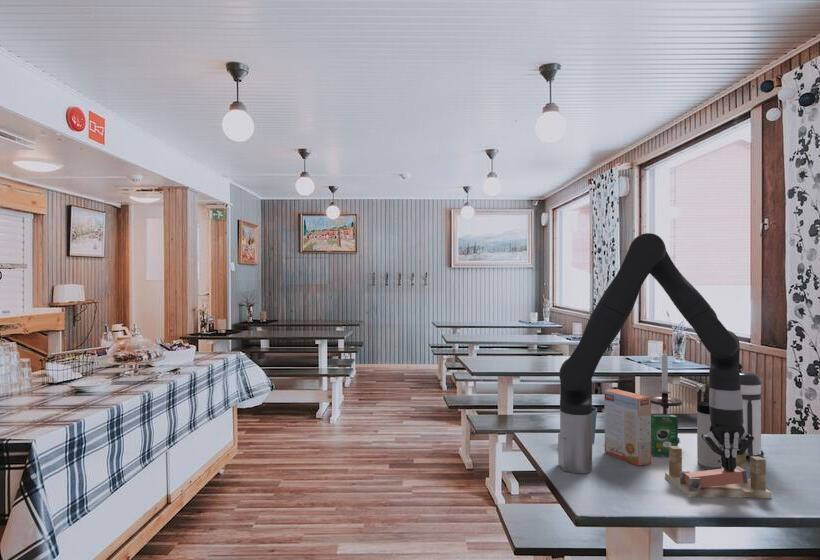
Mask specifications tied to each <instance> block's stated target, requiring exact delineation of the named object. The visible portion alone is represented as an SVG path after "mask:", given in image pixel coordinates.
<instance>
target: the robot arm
mask: <svg viewBox="0 0 820 560" xmlns="http://www.w3.org/2000/svg"><path fill="white" fill-rule="evenodd" d="M649 274H650V275H651V276H652V277H653V278H654V280H656V282H657V283H658V284H659V285H660V286H661V288H662V289H663V291H664V292H665V293H666V294H667V295H668V297H669V299H670V301H671V302H672V303H673V304H674V306H675V307H676V309H677V311H678V312H679V313H680V314H681V316H682V317H683V318H684V320H686V321H687V323H688V324H689V326H691V327H692V328H693V330H694V332H695V334H696V335H697V337H698V339H699V340H700V342H701V343H702V345H703V346H704V347H705V349H706V350H707V351H708V353H709V355H710V367H709V372H708V378H709V391H708V401H709V406H710V421H711V426H710V429H709V430H710V432H708V433H707V434H706V435H705V434H702V435H701V437H702V439H703V440H704V441H705V442H706V443H707V445H708V446H709V447H710V448H711V449H712V451H713V452H715V453H716V454H718V455H721V465H722V469H724V470H726V471H734V469H736V457H737V455H743V454H744V452H745V451H746V449H747V448H748V447H749V445H750V444H751V442H752V441H753V440H754V437H753V436H751V435H749V434H748V433H746V432H745V429H744V427H743V423H744V421H743V401H742V394H741V384H740V373H739V363H740V353H741V352H740V340H739V337H738V336H737V334H736V333H734V332H732V330H728V329H727V328H726V326H724V324H723V323H722V321H720V319H719V317H718V316H717V312H715V310H714V309H713V308H712V306H711V305H710V303H709V302H708V301H707V300H706V299H705V297H704V296H703V295H702V294H701V293H700V292H699V290H697V288H696V287H694V286H693V285H692V283H691V282H689V280H688V279H687V278H686V277H685V276H684V275H683V274H682V273H681V272H680V271H679V269H678V268H677V267H676V265H675V263H674V261H673V260H672V259H671V257H670V255H669V253H668V251H667V247H666V244H665V241H664V240H663V239H662V238H661V237H660V236H659V235H658V234H656V233H654V232H653V233H652V232H645V233H641V234H639V235H637V236H636V237H635V238H634V239H633V240H632V242H631V243H630V245H629V248H628V250H627V253H626V254H625V257H624V259H623V262H622V263H621V266H620V268H619V270H618V272H617V273H616V274H615V276H614V278H613V279H612V280H611V282H610V284H609V285H608V286H607V288H606V289H605V291H604V293H603V294H602V295H601V297H600V299H599V300H598V302H597V304H596V305H595V307H594V309H593V311H592V313H591V315H590V316H589V319H588V321H587V324H586V326H585V328H584V330H583V333H582V336H581V338H580V340H579V343H578V344H577V346H576V347H575V349H574V350H573V352H572V353H571V355H570V356H569V357H568V359H566V360H564V362H562V363H561V366H560V368H559V373H558V375H559V377H558V378H559V380H560V384H559V385H560V394H559V395H560V397H559V433H558V435H557V440H558V441H557V443H558V444H557V446H558V447H557V449H558V450H557V453H558V456H557V457H558V458H557V459H558V462H557V463H558V466H559V467H560V468H561V469H562V471H563V472H569V473H573V474H589V473H591V472H592V471H593V444H592V406H593V382H592V381H593V376H594V374H595V372H596V369H597V367H598V365H599V363H600V361H601V359H602V357H603V356H604V354H605V352H606V351H607V350H608V348H609V347H610V346H611V345H612V343H613V341H615V339H616V338H617V337H618V334H619V333H620V332H621V330H622V328H624V325H625V323H626V322H627V320H628V319H629V317H630V315H631V313H632V311H633V308H634V306H635V304H636V301H637V299H638V296H639V294H640V290H641V289H642V286H643V284H644V282H645V280H646V279H647V277H648V276H649ZM713 436H714V437H715V439H716V440H717V442H718V446H719V447H718V446H717V445H716V444H715V443H714V438H713ZM740 438H741V439H740ZM738 441H739V442H738Z"/></svg>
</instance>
